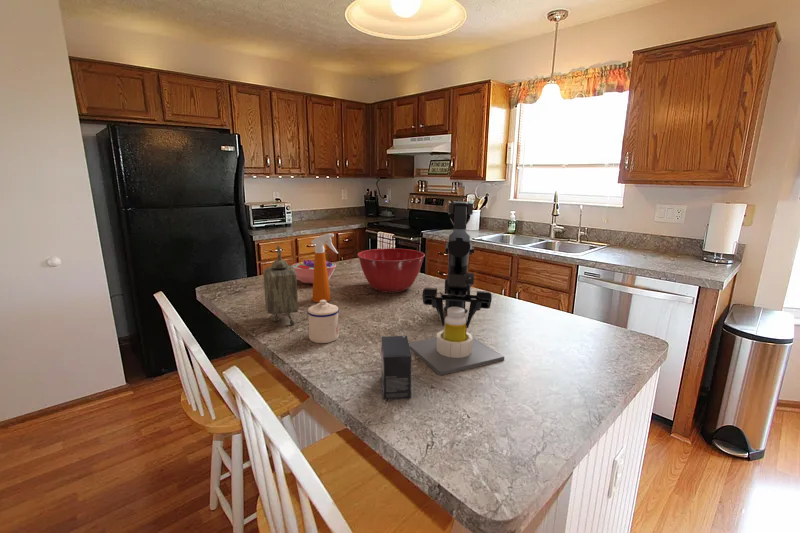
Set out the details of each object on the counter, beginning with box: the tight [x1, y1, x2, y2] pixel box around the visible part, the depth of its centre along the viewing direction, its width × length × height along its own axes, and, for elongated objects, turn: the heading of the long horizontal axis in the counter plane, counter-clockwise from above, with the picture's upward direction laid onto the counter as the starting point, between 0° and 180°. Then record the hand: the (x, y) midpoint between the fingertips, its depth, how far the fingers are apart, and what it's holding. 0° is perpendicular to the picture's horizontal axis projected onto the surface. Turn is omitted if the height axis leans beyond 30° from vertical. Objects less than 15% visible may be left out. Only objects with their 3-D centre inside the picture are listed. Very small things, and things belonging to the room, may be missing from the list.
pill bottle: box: [443, 307, 468, 342], centre depth 104 cm, size 6×6×11 cm
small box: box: [380, 335, 413, 401], centre depth 87 cm, size 11×6×10 cm, turn 5°
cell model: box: [291, 259, 337, 285], centre depth 172 cm, size 17×20×11 cm
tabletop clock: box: [262, 245, 299, 326], centre depth 124 cm, size 14×9×25 cm, turn 23°
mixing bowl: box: [357, 248, 425, 294], centre depth 164 cm, size 28×28×15 cm
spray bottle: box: [310, 232, 339, 304], centre depth 145 cm, size 7×11×26 cm, turn 80°
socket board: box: [409, 329, 505, 377], centre depth 105 cm, size 20×18×5 cm
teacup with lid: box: [307, 300, 340, 344], centre depth 114 cm, size 12×9×12 cm
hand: (455, 326), depth 102 cm, fingers closed on pill bottle, 6 cm apart
